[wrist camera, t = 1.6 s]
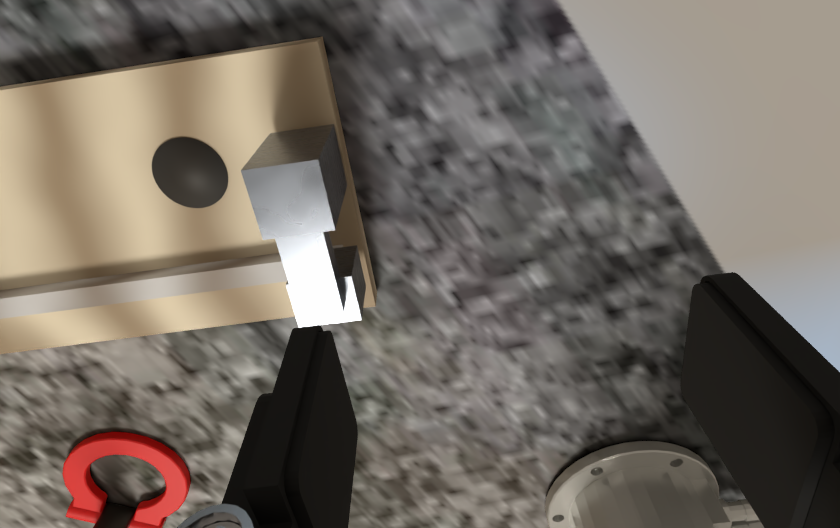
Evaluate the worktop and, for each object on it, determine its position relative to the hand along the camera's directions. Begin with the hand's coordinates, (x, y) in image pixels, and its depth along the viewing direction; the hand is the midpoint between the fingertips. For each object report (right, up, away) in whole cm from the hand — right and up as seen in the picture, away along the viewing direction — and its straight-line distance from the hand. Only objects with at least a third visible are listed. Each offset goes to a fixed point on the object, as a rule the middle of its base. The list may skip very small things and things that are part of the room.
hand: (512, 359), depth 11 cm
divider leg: (-7, +5, +16) cm, 18 cm away
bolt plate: (-19, +5, +18) cm, 26 cm away
